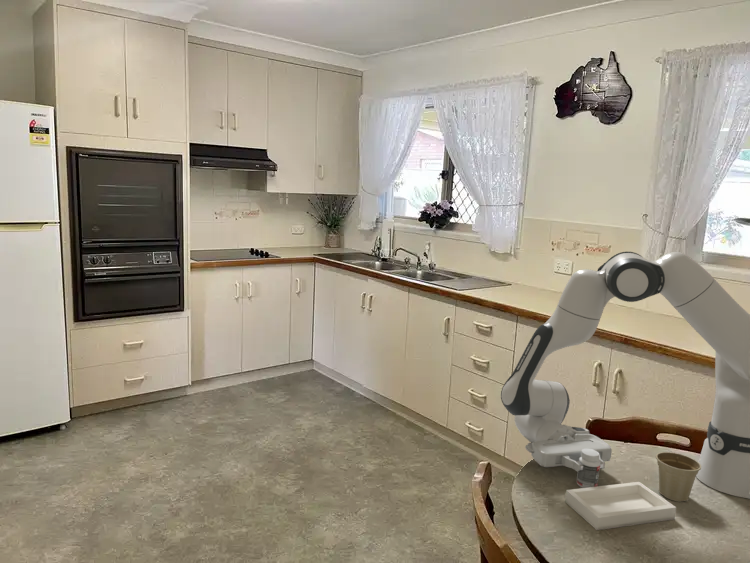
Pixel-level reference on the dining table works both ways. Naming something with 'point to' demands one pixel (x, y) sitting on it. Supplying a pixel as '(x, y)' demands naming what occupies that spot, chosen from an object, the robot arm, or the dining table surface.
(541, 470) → the dining table surface
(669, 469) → the flower pot
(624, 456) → the dining table surface
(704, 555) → the dining table surface
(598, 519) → the tray
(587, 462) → the pill bottle
